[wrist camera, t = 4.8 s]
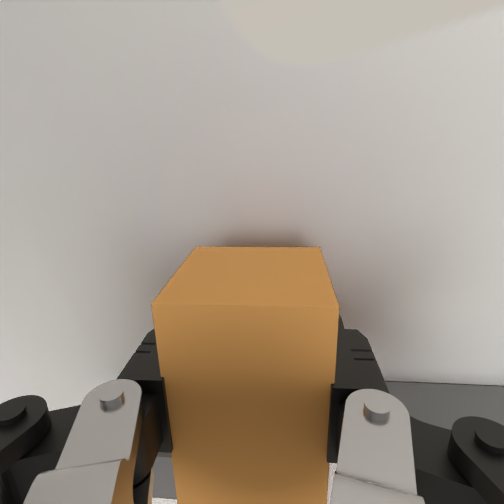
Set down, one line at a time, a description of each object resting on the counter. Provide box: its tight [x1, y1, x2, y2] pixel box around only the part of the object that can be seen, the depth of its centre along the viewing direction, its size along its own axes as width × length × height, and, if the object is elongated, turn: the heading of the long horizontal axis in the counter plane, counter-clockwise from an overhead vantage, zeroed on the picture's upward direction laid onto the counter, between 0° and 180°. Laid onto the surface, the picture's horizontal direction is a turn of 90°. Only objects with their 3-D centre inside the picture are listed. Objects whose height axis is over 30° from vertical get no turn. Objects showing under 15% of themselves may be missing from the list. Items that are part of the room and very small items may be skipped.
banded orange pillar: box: [151, 247, 339, 504], centre depth 12 cm, size 4×16×4 cm, turn 1°
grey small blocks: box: [152, 381, 504, 499], centre depth 13 cm, size 28×3×5 cm, turn 91°
